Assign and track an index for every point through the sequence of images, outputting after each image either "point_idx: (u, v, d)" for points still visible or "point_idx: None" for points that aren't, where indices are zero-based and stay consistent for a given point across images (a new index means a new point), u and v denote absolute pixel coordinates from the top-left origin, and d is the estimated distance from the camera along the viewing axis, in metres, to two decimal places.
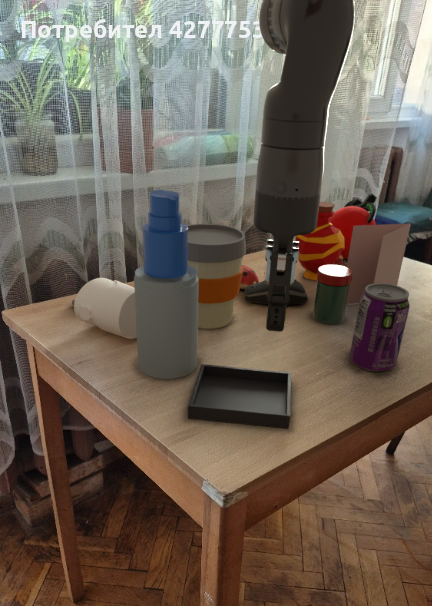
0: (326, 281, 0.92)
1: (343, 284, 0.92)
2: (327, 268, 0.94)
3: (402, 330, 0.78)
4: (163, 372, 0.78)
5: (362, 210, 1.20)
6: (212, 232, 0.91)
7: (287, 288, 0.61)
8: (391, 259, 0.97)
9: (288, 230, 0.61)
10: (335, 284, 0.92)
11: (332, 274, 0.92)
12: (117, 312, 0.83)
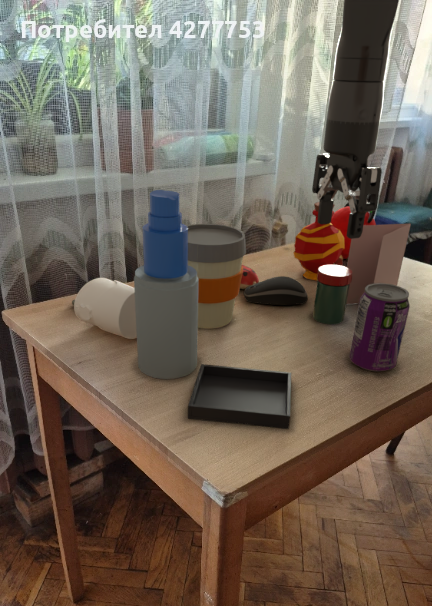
0: (326, 281, 0.92)
1: (343, 284, 0.92)
2: (327, 268, 0.94)
3: (402, 330, 0.78)
4: (163, 372, 0.78)
5: None
6: (212, 232, 0.91)
7: (377, 196, 0.77)
8: (391, 259, 0.97)
9: (366, 150, 0.77)
10: (335, 284, 0.92)
11: (332, 274, 0.92)
12: (117, 312, 0.83)
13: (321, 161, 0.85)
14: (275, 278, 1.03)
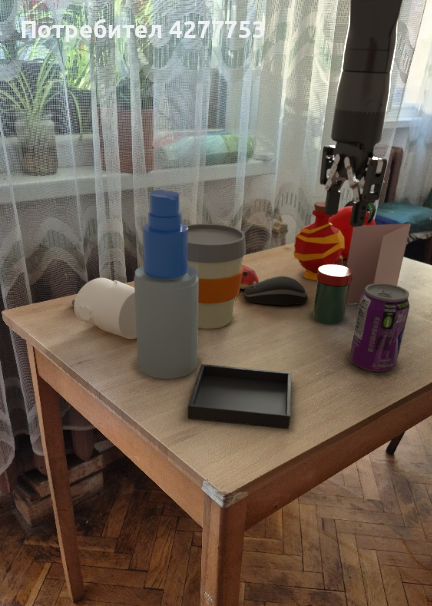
0: (326, 281, 0.92)
1: (343, 284, 0.92)
2: (327, 268, 0.94)
3: (402, 330, 0.78)
4: (163, 372, 0.78)
5: None
6: (212, 232, 0.91)
7: (380, 186, 0.81)
8: (391, 259, 0.97)
9: (373, 139, 0.79)
10: (335, 284, 0.92)
11: (332, 274, 0.92)
12: (117, 312, 0.83)
13: (327, 152, 0.88)
14: (275, 278, 1.03)
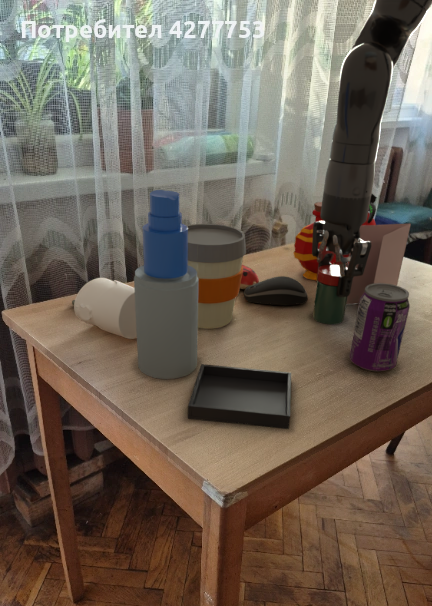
0: (326, 281, 0.92)
1: None
2: (327, 268, 0.94)
3: (402, 330, 0.78)
4: (163, 372, 0.78)
5: None
6: (212, 232, 0.91)
7: (364, 265, 0.87)
8: (391, 259, 0.97)
9: (359, 221, 0.86)
10: (335, 284, 0.92)
11: (332, 274, 0.92)
12: (117, 312, 0.83)
13: (318, 227, 0.94)
14: (275, 278, 1.03)
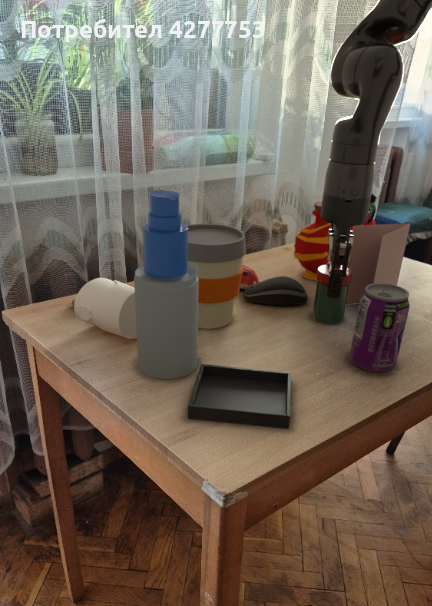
0: None
1: None
2: None
3: (402, 330, 0.78)
4: (163, 372, 0.78)
5: None
6: (212, 232, 0.91)
7: None
8: (391, 259, 0.97)
9: None
10: None
11: None
12: (117, 312, 0.83)
13: None
14: (275, 278, 1.03)
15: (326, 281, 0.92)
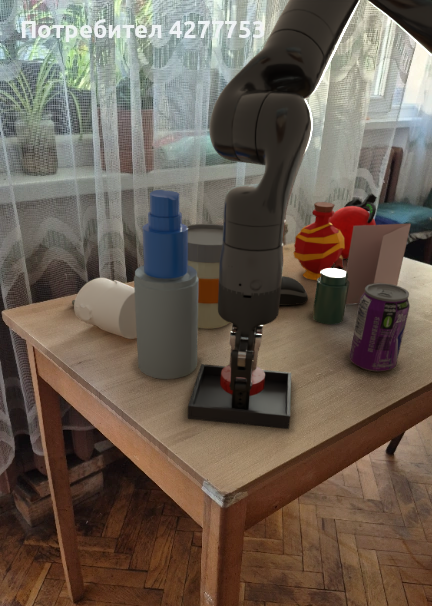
0: None
1: None
2: None
3: (402, 330, 0.78)
4: (163, 372, 0.78)
5: (362, 210, 1.20)
6: (212, 232, 0.91)
7: None
8: (391, 259, 0.97)
9: None
10: None
11: None
12: (117, 312, 0.83)
13: None
14: None
15: (230, 390, 0.70)
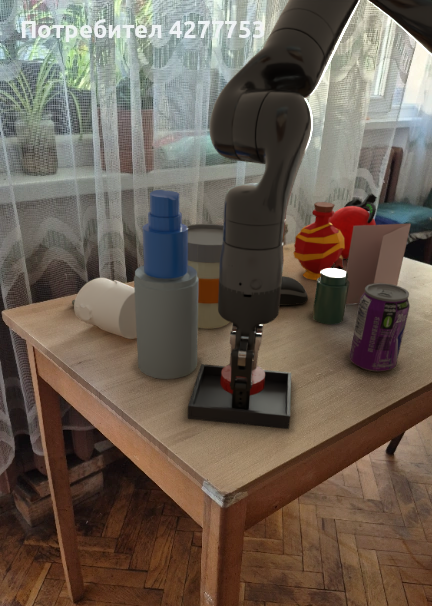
0: None
1: None
2: None
3: (402, 330, 0.78)
4: (163, 372, 0.78)
5: (362, 210, 1.20)
6: (212, 232, 0.91)
7: None
8: (391, 259, 0.97)
9: None
10: None
11: (256, 368, 0.73)
12: (117, 312, 0.83)
13: None
14: None
15: (230, 389, 0.70)
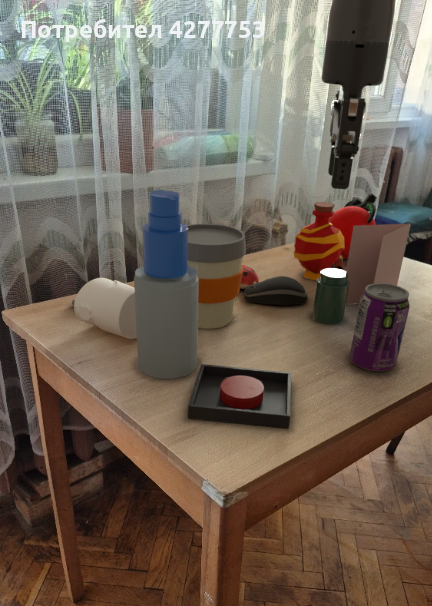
0: None
1: None
2: (247, 391, 0.72)
3: (402, 330, 0.78)
4: (163, 372, 0.78)
5: (362, 210, 1.20)
6: (212, 232, 0.91)
7: None
8: (391, 259, 0.97)
9: None
10: None
11: (255, 381, 0.74)
12: (117, 312, 0.83)
13: None
14: (275, 278, 1.03)
15: (229, 403, 0.71)
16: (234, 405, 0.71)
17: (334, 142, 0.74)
